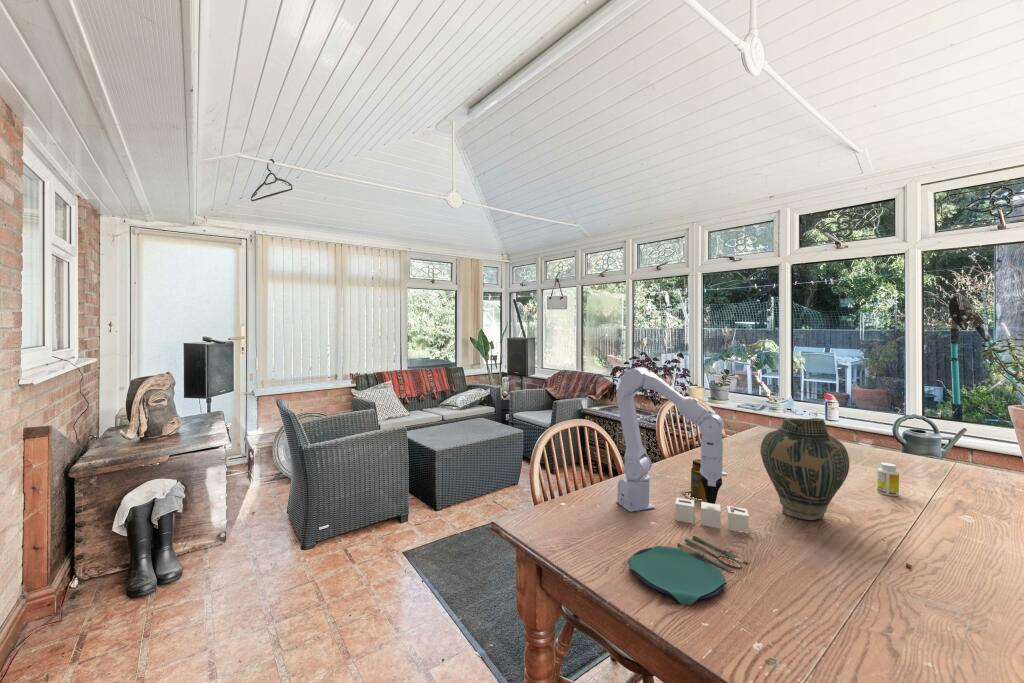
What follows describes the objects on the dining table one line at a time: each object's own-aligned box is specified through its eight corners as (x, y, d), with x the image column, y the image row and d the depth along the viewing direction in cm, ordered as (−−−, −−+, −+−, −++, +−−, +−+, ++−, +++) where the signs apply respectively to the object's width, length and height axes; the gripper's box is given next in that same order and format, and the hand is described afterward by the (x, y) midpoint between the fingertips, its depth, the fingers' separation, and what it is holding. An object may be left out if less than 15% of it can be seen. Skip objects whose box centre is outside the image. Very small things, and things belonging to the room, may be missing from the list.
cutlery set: (611, 569, 97) (612, 559, 97) (688, 537, 113) (689, 529, 113) (688, 619, 80) (688, 608, 80) (765, 574, 97) (766, 564, 97)
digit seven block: (748, 533, 114) (748, 515, 114) (728, 530, 116) (728, 511, 116) (746, 526, 119) (746, 508, 119) (727, 522, 121) (727, 505, 121)
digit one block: (693, 523, 120) (693, 505, 120) (675, 520, 122) (675, 502, 122) (694, 516, 125) (694, 499, 125) (676, 513, 127) (676, 496, 127)
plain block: (720, 528, 117) (720, 511, 117) (701, 525, 119) (701, 508, 119) (719, 521, 122) (719, 504, 122) (701, 518, 124) (701, 501, 124)
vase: (866, 535, 113) (869, 427, 113) (776, 527, 118) (778, 422, 117) (823, 503, 135) (825, 411, 134) (748, 497, 140) (750, 408, 139)
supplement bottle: (900, 494, 143) (900, 464, 143) (897, 498, 140) (897, 468, 139) (878, 489, 147) (879, 460, 147) (875, 493, 144) (876, 463, 144)
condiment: (716, 500, 137) (716, 464, 137) (692, 501, 136) (692, 465, 136) (702, 491, 144) (703, 457, 144) (680, 492, 143) (680, 458, 143)
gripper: (728, 465, 112) (727, 515, 112) (725, 451, 125) (725, 495, 125) (699, 461, 115) (699, 510, 115) (700, 448, 128) (699, 492, 128)
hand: (710, 502), depth 120 cm, fingers closed
